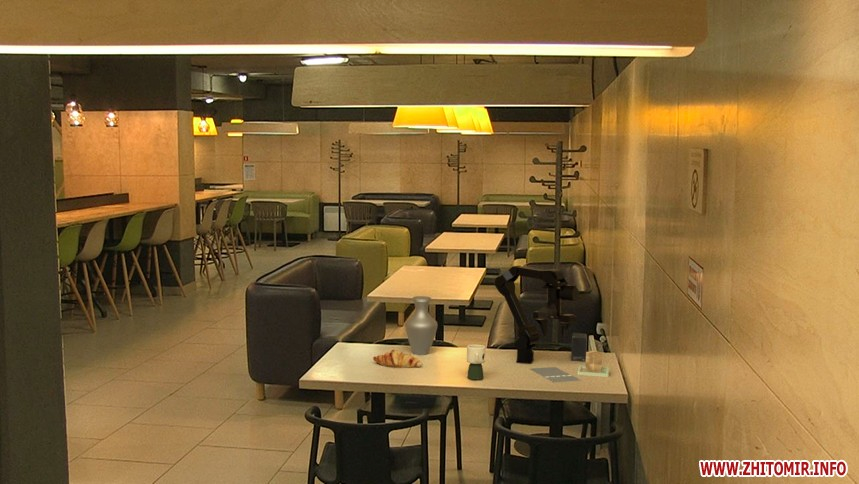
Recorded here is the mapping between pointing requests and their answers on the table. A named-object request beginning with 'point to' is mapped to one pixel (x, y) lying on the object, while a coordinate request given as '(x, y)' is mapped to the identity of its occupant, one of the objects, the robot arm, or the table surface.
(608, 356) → the table surface
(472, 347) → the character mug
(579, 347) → the small box
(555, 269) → the robot arm
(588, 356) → the stub
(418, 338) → the vase
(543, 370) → the ticket board
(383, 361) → the croissant
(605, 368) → the tray
